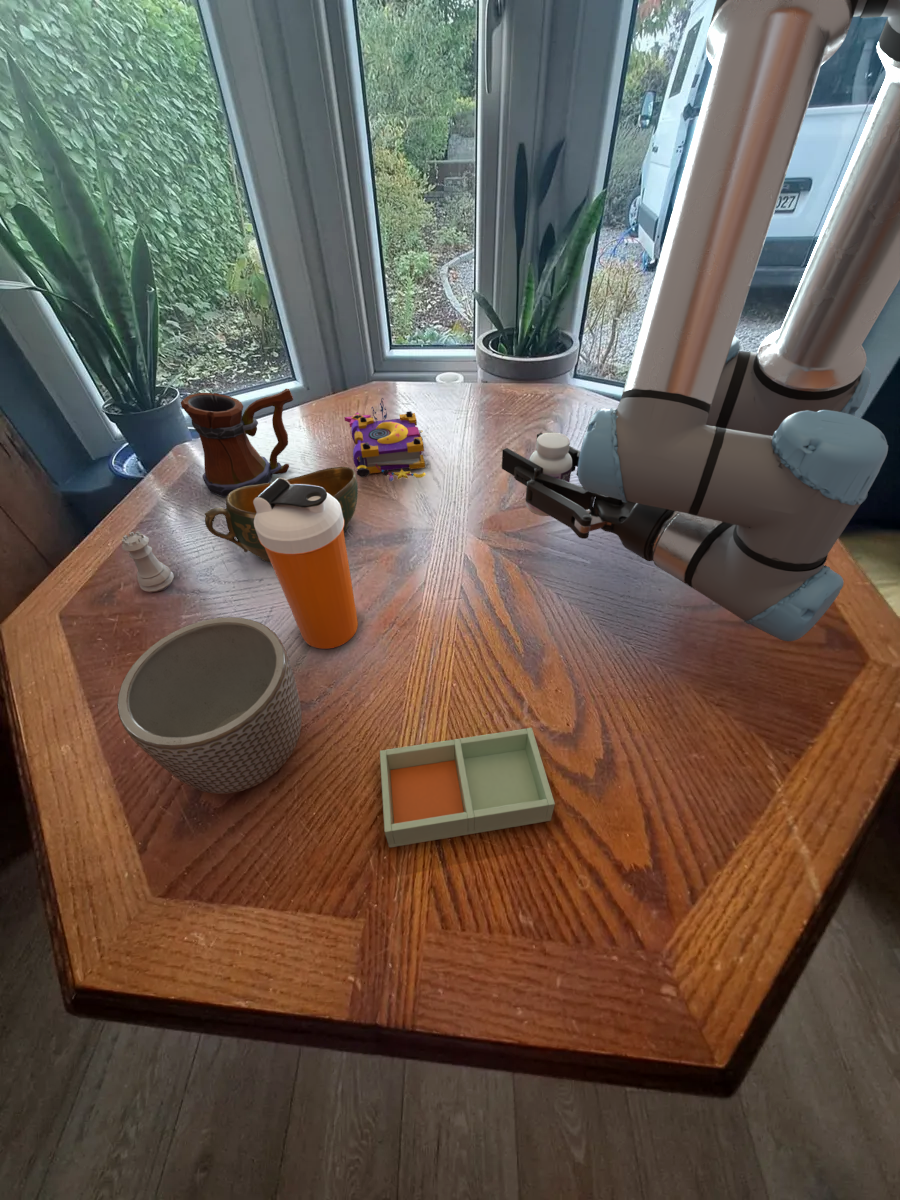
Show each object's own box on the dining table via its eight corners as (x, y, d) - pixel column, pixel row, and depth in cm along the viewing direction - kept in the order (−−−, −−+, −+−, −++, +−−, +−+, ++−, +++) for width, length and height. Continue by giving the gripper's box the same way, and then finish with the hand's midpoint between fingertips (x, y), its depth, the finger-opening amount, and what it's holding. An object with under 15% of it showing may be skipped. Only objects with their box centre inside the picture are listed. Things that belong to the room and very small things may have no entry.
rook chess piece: (182, 577, 73) (158, 531, 68) (157, 597, 70) (130, 551, 65) (159, 569, 75) (133, 523, 69) (134, 588, 72) (105, 542, 66)
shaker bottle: (351, 660, 62) (316, 522, 48) (282, 650, 63) (227, 513, 49) (374, 607, 68) (349, 471, 54) (310, 599, 69) (269, 465, 55)
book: (350, 494, 87) (337, 425, 79) (346, 426, 105) (335, 364, 96) (436, 484, 89) (432, 415, 80) (417, 419, 106) (413, 357, 98)
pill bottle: (540, 522, 67) (547, 455, 60) (517, 502, 71) (522, 436, 64) (574, 510, 69) (584, 443, 62) (550, 490, 72) (558, 425, 65)
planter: (325, 794, 50) (291, 719, 41) (172, 838, 47) (100, 769, 38) (310, 682, 59) (281, 601, 50) (183, 713, 57) (127, 635, 48)
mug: (307, 453, 98) (287, 371, 87) (314, 484, 90) (293, 399, 79) (207, 470, 94) (173, 387, 84) (205, 504, 86) (168, 418, 76)
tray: (529, 745, 53) (531, 727, 50) (550, 820, 47) (555, 804, 45) (383, 768, 52) (379, 750, 49) (389, 847, 46) (384, 832, 44)
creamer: (236, 523, 82) (213, 466, 75) (363, 508, 84) (352, 451, 77) (224, 577, 73) (197, 518, 66) (367, 559, 75) (355, 499, 68)
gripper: (608, 597, 54) (467, 500, 67) (711, 527, 62) (566, 453, 75) (622, 540, 49) (466, 447, 62) (733, 472, 56) (573, 402, 70)
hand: (521, 450), depth 68 cm, fingers closed on pill bottle, 5 cm apart
